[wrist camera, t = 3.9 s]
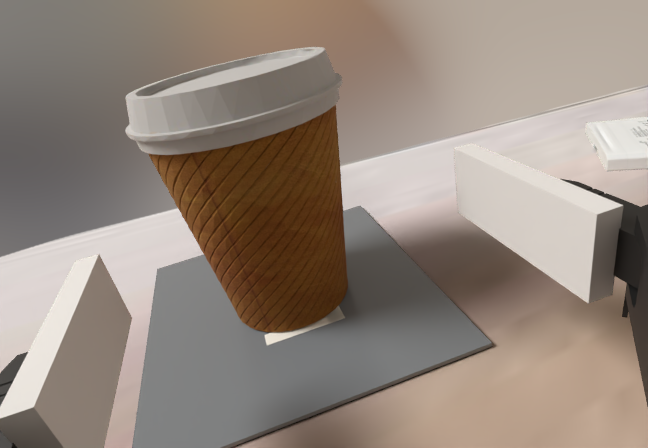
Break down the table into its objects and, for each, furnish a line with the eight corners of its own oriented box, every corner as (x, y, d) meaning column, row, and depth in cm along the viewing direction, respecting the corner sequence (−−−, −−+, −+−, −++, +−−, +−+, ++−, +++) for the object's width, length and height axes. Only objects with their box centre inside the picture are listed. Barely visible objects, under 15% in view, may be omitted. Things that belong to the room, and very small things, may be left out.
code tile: (129, 486, 16) (126, 483, 16) (158, 271, 30) (157, 268, 30) (491, 346, 18) (491, 342, 18) (360, 208, 32) (360, 205, 32)
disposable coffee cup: (293, 235, 30) (244, 54, 25) (412, 269, 24) (381, 35, 18) (175, 316, 24) (77, 103, 19) (289, 390, 18) (192, 101, 13)
